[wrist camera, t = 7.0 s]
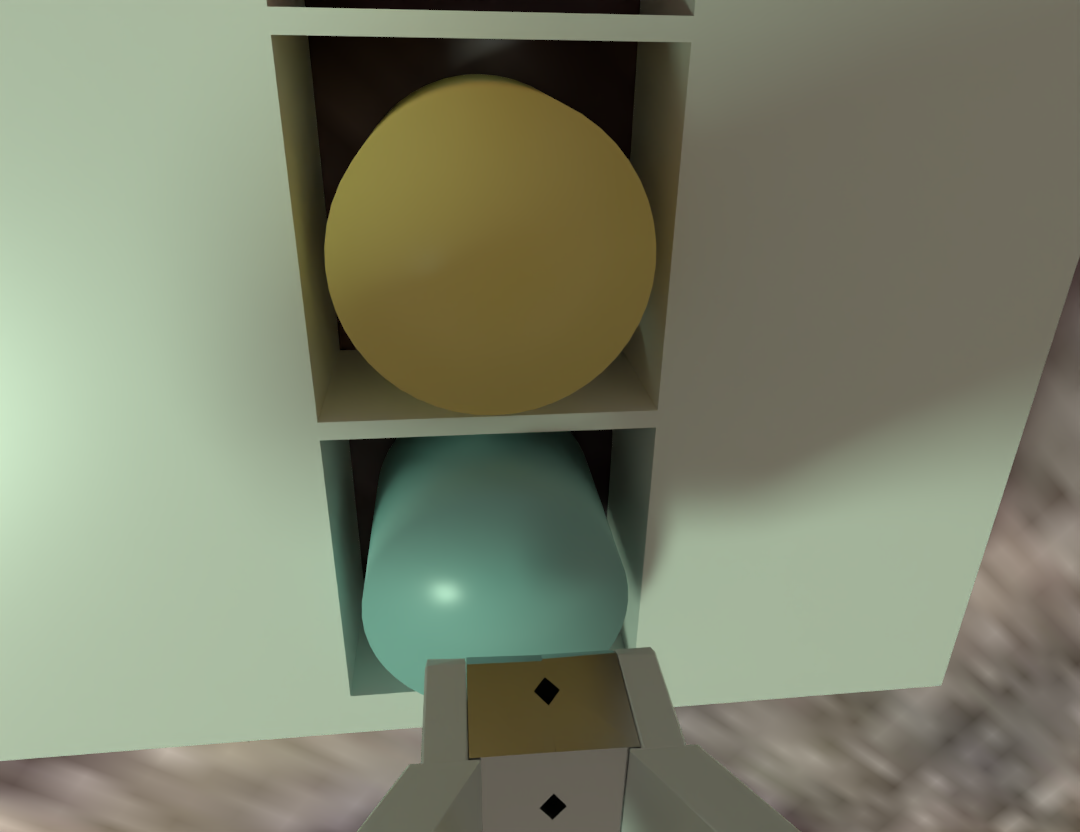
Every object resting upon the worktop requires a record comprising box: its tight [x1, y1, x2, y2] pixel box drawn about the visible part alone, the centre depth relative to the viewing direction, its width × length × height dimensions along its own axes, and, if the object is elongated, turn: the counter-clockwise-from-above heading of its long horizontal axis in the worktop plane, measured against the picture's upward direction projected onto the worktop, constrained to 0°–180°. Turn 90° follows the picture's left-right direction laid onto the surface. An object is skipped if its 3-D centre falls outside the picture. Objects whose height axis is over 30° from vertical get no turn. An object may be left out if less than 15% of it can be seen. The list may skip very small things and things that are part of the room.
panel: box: [0, 0, 1080, 761], centre depth 12 cm, size 18×18×3 cm
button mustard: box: [324, 74, 656, 415], centre depth 11 cm, size 4×4×4 cm
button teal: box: [362, 431, 628, 695], centre depth 14 cm, size 4×4×4 cm
